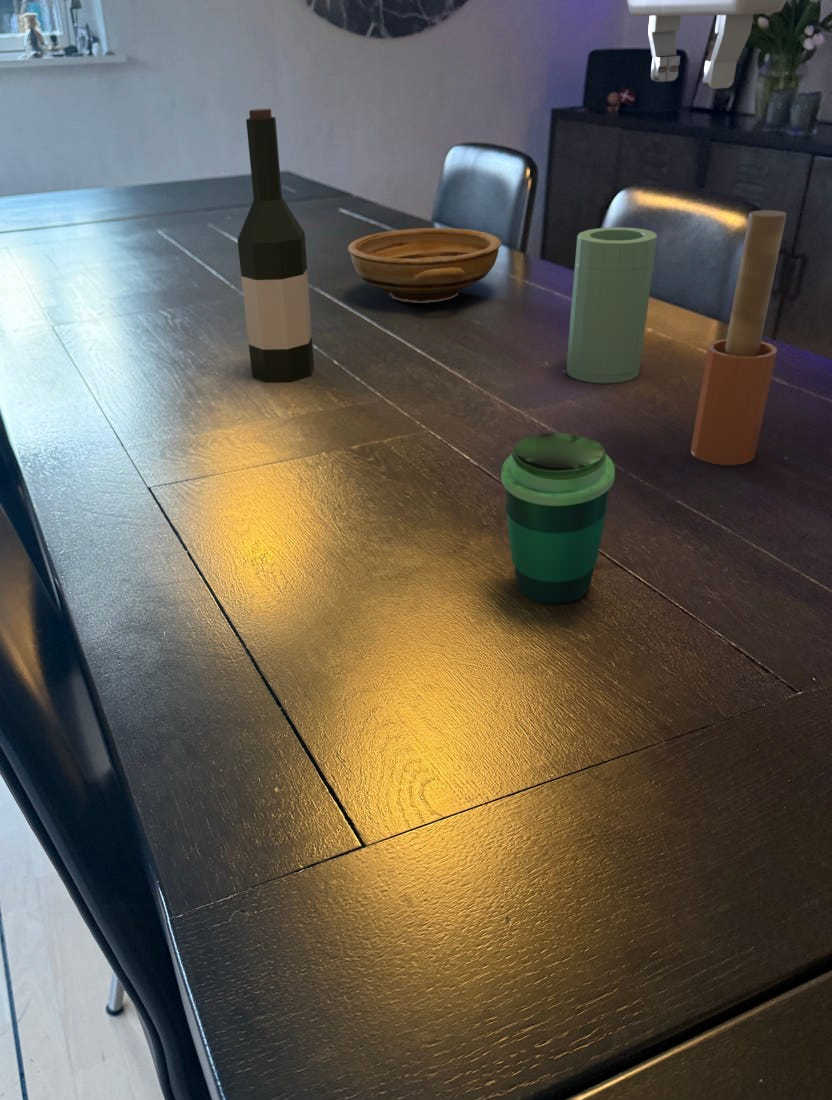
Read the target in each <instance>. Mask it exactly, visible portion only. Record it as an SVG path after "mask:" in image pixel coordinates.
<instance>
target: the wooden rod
mask: <svg viewBox="0 0 832 1100" xmlns="http://www.w3.org/2000/svg"><path fill="white" fill-rule="evenodd" d="M786 219H787V213H786V212H785V211H781V210H772V209H771V210H770V209H763V210H754V211H751V212H749V214H748V217H747V222H746V223H747V225H746V229H745V236H744V240H743V246H742V253H741V257H740V263H739V268H738V274H737V280H736V284H735V291H734V296H733V302H732V309H731V313H730V317H729V318H730V319H729V325H728V331H727V335H726V339H727V340H726V346H725V352H724V354H728V355H734V356H758V354H759V349H760V344H761V341H762V338H763V334H764V329H765V323H766V318H767V314H768V308H769V305H770V304H769V303H770V299H771V294H772V290H773V289H772V288H773V285H774V280H775V275H776V274H775V273H776V269H777V264H778V259H779V254H780V249H781V244H782V239H783V234H784V229H785V223H786Z"/></svg>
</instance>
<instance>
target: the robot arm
mask: <svg viewBox="0 0 832 1100" xmlns="http://www.w3.org/2000/svg"><path fill="white" fill-rule="evenodd" d="M626 2H627V7H628V10H629V15H631V16H632V17H649V19H648V28H647V29H648V30H647V35H648V41H649V46H650V47H649V48H650V53H651V57H652V60H651V67H650V79H651V80H652V81H653V82H659V83H665V82H674V81H675V80H677V78H678V76H679V67H680V61H681V56H680V55H677V32H678V31H680V25H681V17H683V16H684V17H685V16H687V17H688V16H716V20H715V28H714V34H715V35H717V38H716V41H715V44H714V47H713V51H712V54H711V57H710V60H705V62H704V68H703V74H704V75H703V78H702V84H703V86H704V87H705V88H707V89H714V90H715V89H728V88H730V87H731V86H732V85H733V84H734V82H735V76H736V70H737V65H738V64H737V63H738V60H739V58H740V57H741V55H742V53H743V49H744V47H745V46H746V43H747V42H748V39H749V37H750V35H751V32H752V28H753V27H752V26H753V22H754V21H753V20H754V15H764V14H773V13H779V12H781V10H782V9H783V7H784V6H785V4H786V2H787V0H626Z"/></svg>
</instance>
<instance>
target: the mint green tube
mask: <svg viewBox="0 0 832 1100" xmlns="http://www.w3.org/2000/svg"><path fill="white" fill-rule="evenodd" d="M576 236H577V237H576V247H575V248H576V249H575V259H574V260H575V261H574V270H573V271H574V273H573V284H572V293H571V294H572V295H571V306H570V307H571V308H570V317H569V331H568V342H567V345H568V346H567V355H566V374H567V375H568V376H569V377H571V378H573V379H574V380H577V381H581V382H585V383H592V384H619V383H625V382H629V381H632V380H634V379H636V378H637V377H638V376H639V374H640V368H641V363H642V356H643V349H644V348H643V347H644V340H645V331H646V324H647V317H648V310H649V302H650V292H651V286H652V277H653V270H654V264H655V263H654V261H655V254H656V247H657V241H658V240H657V239H658V234H657V233H656V232H654V231H653V230H649V229H644V228H637V227H617V226H616V227H614V226H613V227H599V228H598V227H597V228H592V229H587V230H583V231H580V232H579V233H578V235H576Z"/></svg>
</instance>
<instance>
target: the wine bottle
mask: <svg viewBox="0 0 832 1100" xmlns="http://www.w3.org/2000/svg"><path fill="white" fill-rule="evenodd" d="M248 113H249V117H248V118H246V119H245V123H246V133H247V143H248V144H247V145H248V153H249V154H248V155H249V165H250V174H251V184H252V194H253V195H252V196H253V201H252V203H251V205H250V208H249V211H248V213H247V216H246V218H245V220H244V223H243V225H242V228H241V230H240V232H239V235H238V237H237V249H238V259H239V269H240V275H241V276H240V277H241V284H242V285H241V286H242V296H243V305H244V314H245V322H246V323H245V324H246V331H247V332H246V333H247V342H248V350H249V362H250V369H251V377H252V378H255V379H256V380H260V381H262V382H265V383H291V382H295V381H298V380H301V379H302V380H303V379H305V378H308V377H311V376H312V374H313V371H314V369H315V363H314V362H315V361H314V347H313V334H312V319H311V318H312V317H311V306H310V304H311V303H310V290H309V289H310V288H309V276H308V261H307V248H306V233H305V231H304V229H303V228H302V226H301V225H300V223H299V221H298V220H297V218H296V217H295V215H294V214H293V212H292V211H291V209H290V207H289V206H288V205H287V203H286V201H285V199H284V198H283V194H282V182H281V181H282V179H281V170H280V155H279V145H278V144H279V143H278V130H277V119H276V116H272V109H271V108H256V109H250V110H249V111H248Z"/></svg>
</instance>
